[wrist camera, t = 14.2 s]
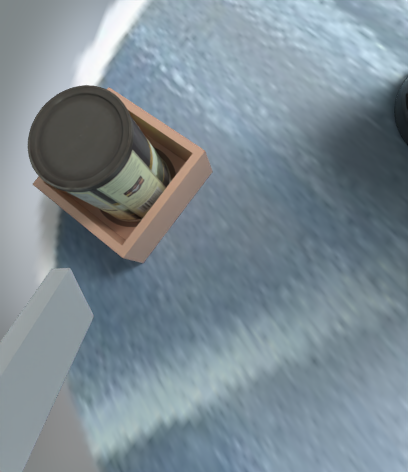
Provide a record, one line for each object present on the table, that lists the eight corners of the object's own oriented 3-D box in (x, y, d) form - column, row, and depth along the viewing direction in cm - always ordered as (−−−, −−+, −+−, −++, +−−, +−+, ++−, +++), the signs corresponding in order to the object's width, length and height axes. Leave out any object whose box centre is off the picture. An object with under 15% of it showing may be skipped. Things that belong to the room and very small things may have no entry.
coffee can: (112, 141, 45) (49, 75, 31) (181, 158, 43) (146, 95, 29) (87, 211, 43) (10, 174, 30) (157, 232, 41) (108, 202, 28)
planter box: (129, 115, 46) (108, 87, 39) (212, 171, 42) (204, 150, 36) (63, 199, 45) (32, 184, 39) (143, 263, 42) (123, 258, 35)
